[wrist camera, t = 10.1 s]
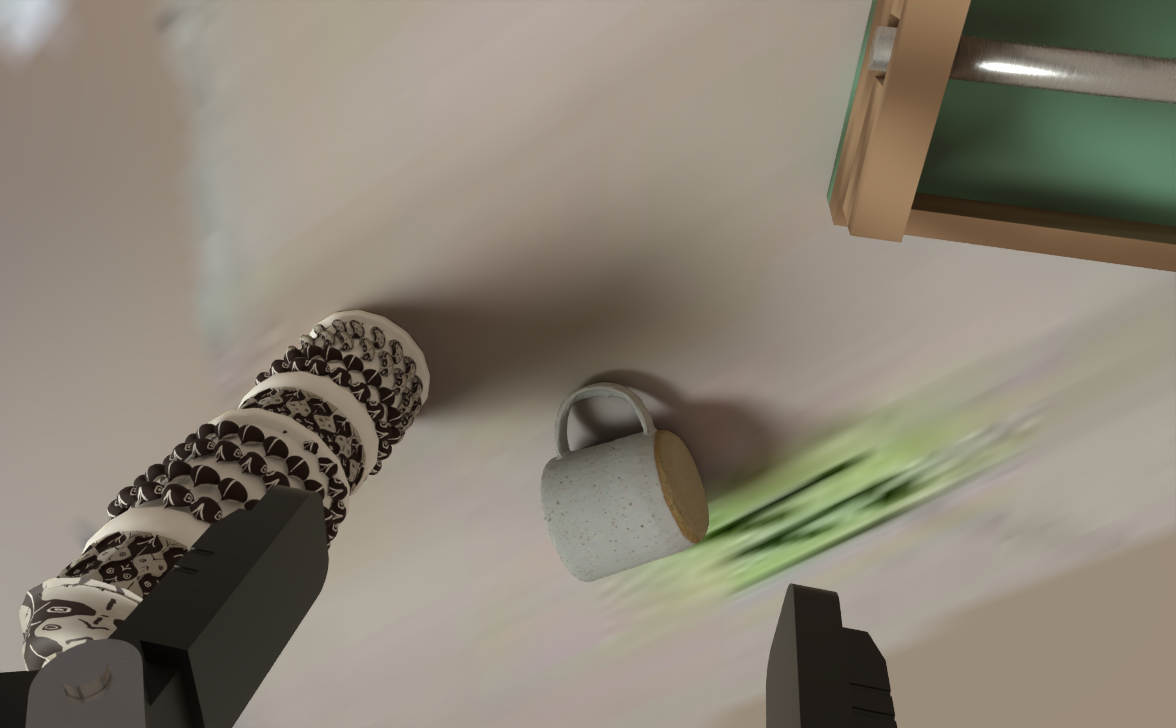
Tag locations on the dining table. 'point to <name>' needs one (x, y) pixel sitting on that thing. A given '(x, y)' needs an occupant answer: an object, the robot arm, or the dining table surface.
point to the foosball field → (1010, 137)
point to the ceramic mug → (621, 495)
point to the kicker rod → (1050, 67)
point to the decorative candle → (241, 472)
